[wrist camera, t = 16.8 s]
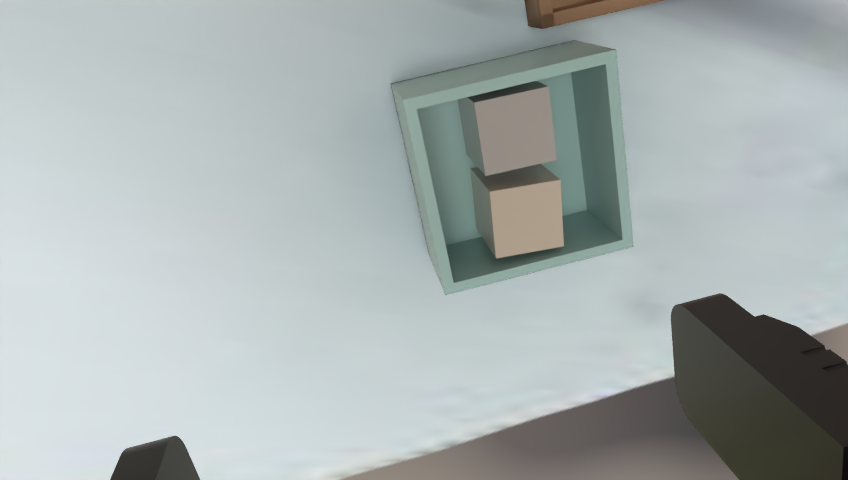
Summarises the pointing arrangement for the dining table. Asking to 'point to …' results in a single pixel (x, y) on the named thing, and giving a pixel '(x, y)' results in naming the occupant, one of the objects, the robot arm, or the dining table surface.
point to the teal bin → (575, 166)
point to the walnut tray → (573, 10)
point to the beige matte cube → (518, 210)
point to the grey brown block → (508, 128)
